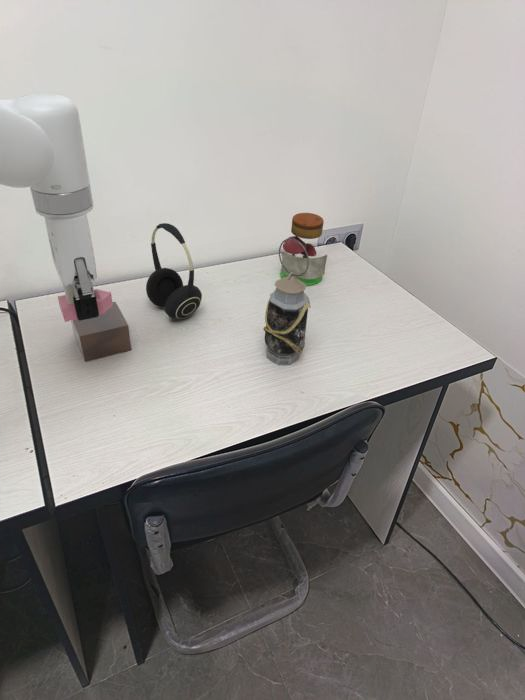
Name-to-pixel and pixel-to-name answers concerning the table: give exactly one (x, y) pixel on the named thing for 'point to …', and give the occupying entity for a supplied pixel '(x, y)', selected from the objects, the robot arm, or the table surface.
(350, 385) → the table surface
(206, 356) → the table surface
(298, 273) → the brown red grey stack
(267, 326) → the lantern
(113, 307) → the block
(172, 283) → the headphones
